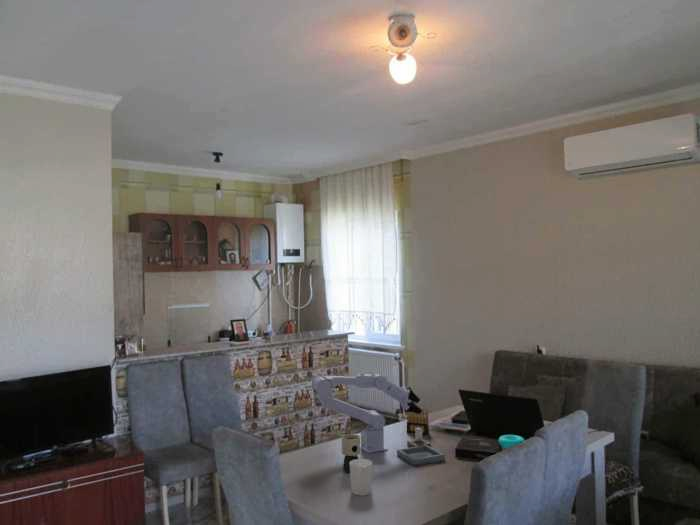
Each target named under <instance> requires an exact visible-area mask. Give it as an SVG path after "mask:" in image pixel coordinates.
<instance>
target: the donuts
mask: <svg viewBox="0 0 700 525" xmlns="http://www.w3.org/2000/svg"><path fill="white" fill-rule="evenodd" d="M498 441H499V443H500V445H502V448H506V449H509V448H508V447H510V446H513V445H515V444H518V443H520V442H523V441H525V442H526V440H525V439H524V437H522V436H521V435H515V434H505V435H501V436H499V438H498Z"/></svg>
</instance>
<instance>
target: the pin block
mask: <svg viewBox="0 0 700 525" xmlns="http://www.w3.org/2000/svg"><path fill="white" fill-rule="evenodd" d="M422 441H423V444H416V441H415V439H413V440H407V441H406V445H407V448H411V447H417V446H423V445H427V446H429V447H431V448H432V443H431V442H429V441H427V440H425V439H423V438H422Z"/></svg>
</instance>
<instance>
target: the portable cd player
mask: <svg viewBox="0 0 700 525" xmlns="http://www.w3.org/2000/svg"><path fill="white" fill-rule="evenodd" d="M502 448H503V446H502V445H500V443H499V440H497V439H496V440H495V439H485V438H484V439H482V438H473V437H461V438H460V440H459V442H458V443H457V445H456V447H455V448H454V451H455V452H454V453H455V454H454V455H455V456H454V458H456V457H460V458H459V459H465V458H470V459H469V460H475V459H476V460H478V461H483V460H482V459H484V458H487V457H489V456H491V455H494V454H496V453H498V452H500V451H501V452H502ZM501 452H500V453H501Z"/></svg>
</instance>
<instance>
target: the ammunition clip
mask: <svg viewBox="0 0 700 525" xmlns="http://www.w3.org/2000/svg"><path fill="white" fill-rule="evenodd" d="M421 409H422V412H421V413H420V414H417V413H414V412H406V413H407V415H406V416H407V417H406V433H407V434H412V433H414V435H415V428H418V427H419V428H422V434H423V435H422V436H429V435H430V426H429V413H428V409H427V408H426V409H425V411H424V407H423V408H421Z"/></svg>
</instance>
